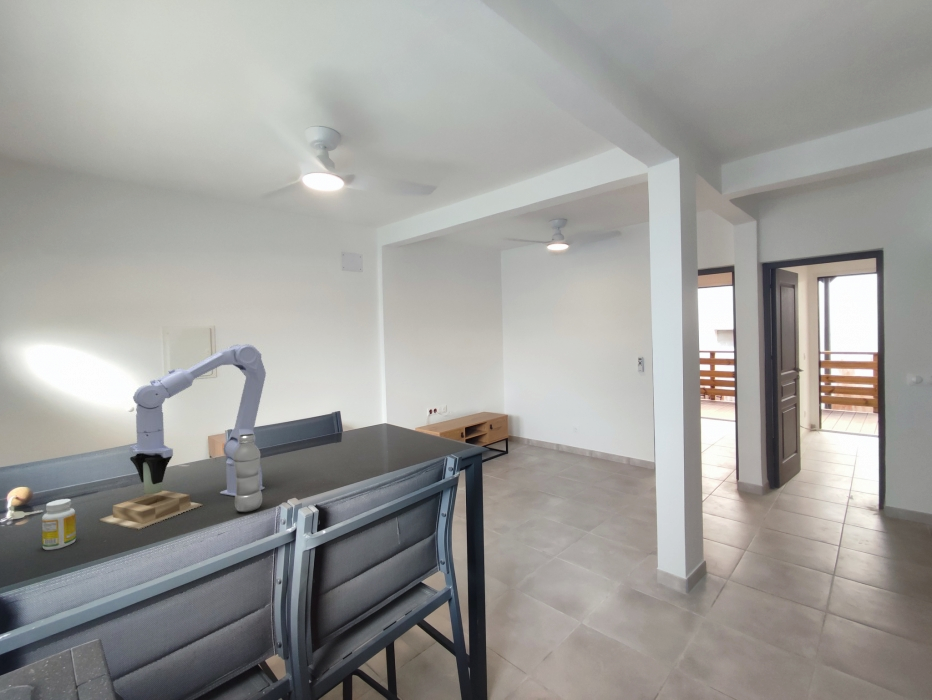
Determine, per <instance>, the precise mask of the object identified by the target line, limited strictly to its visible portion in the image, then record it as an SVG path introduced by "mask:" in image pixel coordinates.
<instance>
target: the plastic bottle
mask: <svg viewBox="0 0 932 700" xmlns="http://www.w3.org/2000/svg"><path fill="white" fill-rule="evenodd" d="M254 435H255V433H254V434H243V435H239V441H238V443H240V445H239V447H238V448H237V449H236V451H235V453H234V455H233V461H234V465H235V470H236V477H237V478H236V480H237V484H236V495H235V496H234V507H235V509H236V510H237V511H238V513H239V512H240V513H248V512H252V511H254V510H257V509H259V508H260V507H261V505H263V504H262V503H263V494H262V490H260V483H259V465H261V464H260V463H261V451H260V449H259V448H258V446H257V445H256V444H254V441H255V442H256V438H255V439H254Z"/></svg>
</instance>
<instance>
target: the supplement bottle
mask: <svg viewBox="0 0 932 700" xmlns="http://www.w3.org/2000/svg"><path fill="white" fill-rule="evenodd" d="M45 505H46V506H45V510H46V513H44V514H43V515H42V517H41V525H42V526H41V528H42V530H41V532H42V533H41V534H42V535H41V536H42V548H43V550H46V551H53V550H58V549H62V548H65V547H67V546H70V545H71V544H73V543H75V542H76V539H77V538H76V537H77V535H76V533H77V532H76V531H77V530H76V528H77V527H76V510H75V509H74V508H73V507H71V506H72V499H70V498H61V499H56V500H52V501H50V502H47V503H46V504H45Z"/></svg>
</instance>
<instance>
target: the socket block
mask: <svg viewBox="0 0 932 700" xmlns="http://www.w3.org/2000/svg"><path fill="white" fill-rule="evenodd" d="M191 500H192V499H191V494H185V493H180V492H174V491H168V490H163V491H162V492H159V493H156V494H150V495H145V494H144V495H142V496H139V497H135V498H133V499H132V498H131V499H129V500H126V501H123V502H120V503H117V504H113V505H112V514H110V515H108V516H105V517H102V518H99V520H98V521H99V522H103V523H107V524H110V525H111V524H112V525H116V526H120V527H125V528H129V529H133V530H137V529H138V531H140V530H143V529H145V527H146V528H148V527H151V526H153V525H152V524H154V525H156V524H159V523H162V522H164V521H166V520H165V519H167V520H169V519H171V517H172V518H174V517H173V516H175V517H177V516H179V515H178V514H180V515H181V513H183V512H185V513H187V512H186V511H188V512H190V511H192V510H191V509H193V510H195V509H194V508H196V509H198V508H201V507H203V505H204V504H202V503H197V502H192V501H191ZM200 506H201V507H200ZM197 507H198V508H197ZM189 510H190V511H189ZM183 514H184V513H183ZM176 515H177V516H176ZM168 518H169V519H168ZM163 520H164V521H163ZM158 522H159V523H158ZM155 523H156V524H155ZM150 525H151V526H150ZM147 526H148V527H147ZM142 528H143V529H142Z"/></svg>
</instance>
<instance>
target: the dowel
mask: <svg viewBox="0 0 932 700" xmlns="http://www.w3.org/2000/svg"><path fill="white" fill-rule="evenodd" d="M143 476H144V482H143V495H144V496H145V495H150V494H156V493H159V492H162V491H164V489H163V488H164V486H163V483H164V482H163V481H162V482H161V483H157V484H153V483H152V480H151V474H150V469H149V466H148V464H147V463H146V462H144V463H143Z"/></svg>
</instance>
